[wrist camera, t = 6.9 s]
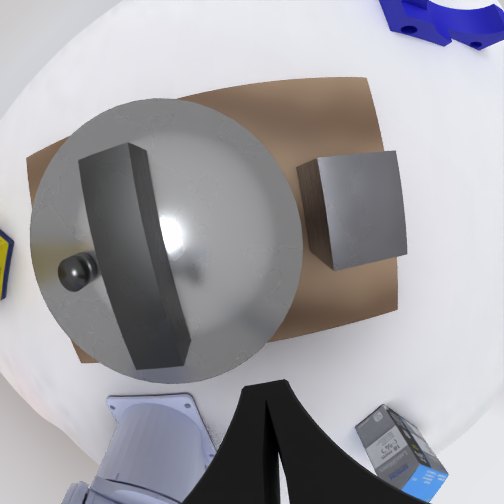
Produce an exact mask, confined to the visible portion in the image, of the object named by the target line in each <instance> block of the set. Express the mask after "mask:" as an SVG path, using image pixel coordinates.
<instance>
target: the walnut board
mask: <svg viewBox="0 0 504 504" xmlns="http://www.w3.org/2000/svg"><path fill="white" fill-rule="evenodd" d="M177 100H183V101H189V102H194V103H197V104H200V105H203V106H206V107H209V108H212V109H214V110H216V111H218V112H220V113H222V114H224V115H226V116H228V117H230V118H232V119H233V120H234V121H236V122H237V123H239V124H240V125H241V126H243V127H244V128H245V129H247V130H248V131H249V132H251V133H252V134H253V135H254V136H255V137H256V138H257V139H258V140H259V141H260V142H261V143H262V144H263V145H264V146H265V147H266V149H267V150H268V151H269V153H270V154H271V155H272V157H273V158H274V159H275V161H276V162H277V163H278V165H279V167H280V168H281V170H282V172H283V174H284V176H285V177H286V179H287V181H288V183H289V185H290V188H291V191H292V193H293V196H294V198H295V201H296V204H297V208H298V213H299V217H300V221H301V228H302V240H303V254H302V268H301V273H300V278H299V283H298V287H297V290H296V293H295V296H294V299H293V302H292V304H291V306H290V308H289V310H288V312H287V314H286V316H285V318H284V320H283V322H282V323H281V325H280V326H279V328H278V329H277V331H276V332H275V333H274V335H273V336H272V337H271V338H270V339H269V341H268V342H273V341H278V340H283V339H288V338H293V337H297V336H302V335H306V334H310V333H315V332H319V331H323V330H327V329H331V328H335V327H339V326H343V325H347V324H350V323H354V322H358V321H361V320H365V319H368V318H372V317H375V316H378V315H382V314H385V313H388V312H392V311H395V310H398V280H397V257H394V258H389V259H385V260H381V261H377V262H373V263H368V264H364V265H360V266H355V267H351V268H347V269H342V270H338V271H333V270H332V269H331V268H329V267H328V266H327V265H326V264H325V263H323V262H322V261H321V260H320V259H319V258H318V257H316V256H315V255H314V254H313V253H312V252H310V249H309V243H308V236H307V229H306V223H305V216H304V210H303V204H302V198H301V193H300V187H299V181H298V176H297V170H296V167H297V166H299V165H302V164H304V163H306V162H309V161H311V160H313V159H316V158H320V157H329V156H338V155H347V154H357V153H369V152H382V151H384V147H383V142H382V137H381V133H380V128H379V124H378V119H377V115H376V111H375V107H374V103H373V99H372V96H371V92H370V89H369V85H368V82H367V78H362V77H328V78H305V79H291V80H280V81H271V82H262V83H255V84H248V85H241V86H235V87H229V88H223V89H218V90H213V91H208V92H203V93H199V94H194V95H190V96H186V97H182V98H178V99H177ZM69 137H70V136H69ZM69 137H67V138H65V139H62V140H60V141H58V142H56V143H54V144H52V145H50V146H48V147H46V148H44V149H42V150H40V151H38V152H36V153H34V154H33V155H31V156H29V157H27V158H26V161H27V172H28V182H29V190H30V197H31V204H32V209H33V204H34V200H35V196H36V193H37V190H38V187H39V184H40V182H41V179H42V177H43V175H44V173H45V171H46V169H47V167H48V165H49V163H50V162H51V160H52V159H53V157H54V156H55V154H56V153H57V151H58V150H59V148H60V147H61V146H62V145H63V144H64V143H65V142H66V140H67V139H68V138H69ZM71 341H72V340H71ZM268 342H267V343H268ZM72 344H73V346H74V348H75V351H76V353H77V355H78V357H79V359H80V361H81V363H100V362H98V361H97V360H95V359H93V358H92V357H91V356H89V355H88V354H87V353H86V352H84V351H83V350H82V349H81V348H80V347H79V346H77V345H76V344H75V343H74V342H73V341H72Z"/></svg>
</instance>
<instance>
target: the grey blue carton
mask: <svg viewBox="0 0 504 504" xmlns="http://www.w3.org/2000/svg"><path fill="white" fill-rule="evenodd" d="M355 429H356V431H357V433H358V435H359V437H360V439H361V441H362V444H363V446H364V448H365V450H366V452H367V454H368V457H369V459H370V461H371V463H372V465H373V467H374V470H375V472H376V474H377V476H378V477H379V478H381V479H382V480H384V481H386V482H388V483H389V484H391V485H393V486H395V487H396V488H398V489H400V490H402V491H404V492H405V493H407V494H410V495H412V496H414V497H416V498H419V499H421V500H423V501H425V502H428V503H429V502H430V501H431V499H432V498H433V497H434V495H435V494H436V492H437V491H438V490H439V488H440V487H441V485H442V484H443V483H444V481H445V480H446V478H447V477H448V472H447V471H446V470H445V468H444V467H443V465H442V464H441V462H440V461H439V460H438V458H437V457H436V455H435V454H434V452H433V451H432V450H431V448H430V447H429V445H428V444H427V443H426V441H425V440H424V438H423V437H422V435H421V433H420V432H419V430H418V429H417V428H416V427H415V426H413V425H412V424H410V423H409V422H408V421H406V420H405V419H403V418H402V417H401V416H399V415H398V414H396V413H395V412H394V411H392V410H391V409H389V408H388V407H386V406H385V405H381V406H380V407H379V408H377V409H376V410H375V411H374V412H373V413H371V414H370V415H369V416H368V417H367V418H366V419H365V420H363V421H362V422H361V423H360V424H358V425H357V426H356V427H355Z"/></svg>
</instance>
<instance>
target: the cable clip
mask: <svg viewBox="0 0 504 504" xmlns="http://www.w3.org/2000/svg"><path fill="white" fill-rule="evenodd" d="M379 2H380V4H381V7H382V9H383V12H384V14H385V17H386V20H387V22H388V25H389V28H390V31H394V32H398V33H402V34H406V35H410V36H413V37H417V38H420V39H423V40H426V41H429V42H433V43H435V44H438V45H441V46H446V45H448V44H449V43H451V42H452V40H451V38H452V39H455V40H457V41H459V42H462V43H464V44H466V45H468V46H471V47H473V48H475V49H477V50H481V49H483V48H486V47H488V46H490V45H492V44H495V43H497V42H499V41H502V40H504V12H503V10H502V9H500V8H499V7H498V6H496V5H495V4H492V5H490V6H488V7H484V8H480V9H473V10H459V9H452V8H447V7H443V6H440V5H437V4H435V3H433V2H431V1H429V0H379Z"/></svg>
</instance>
